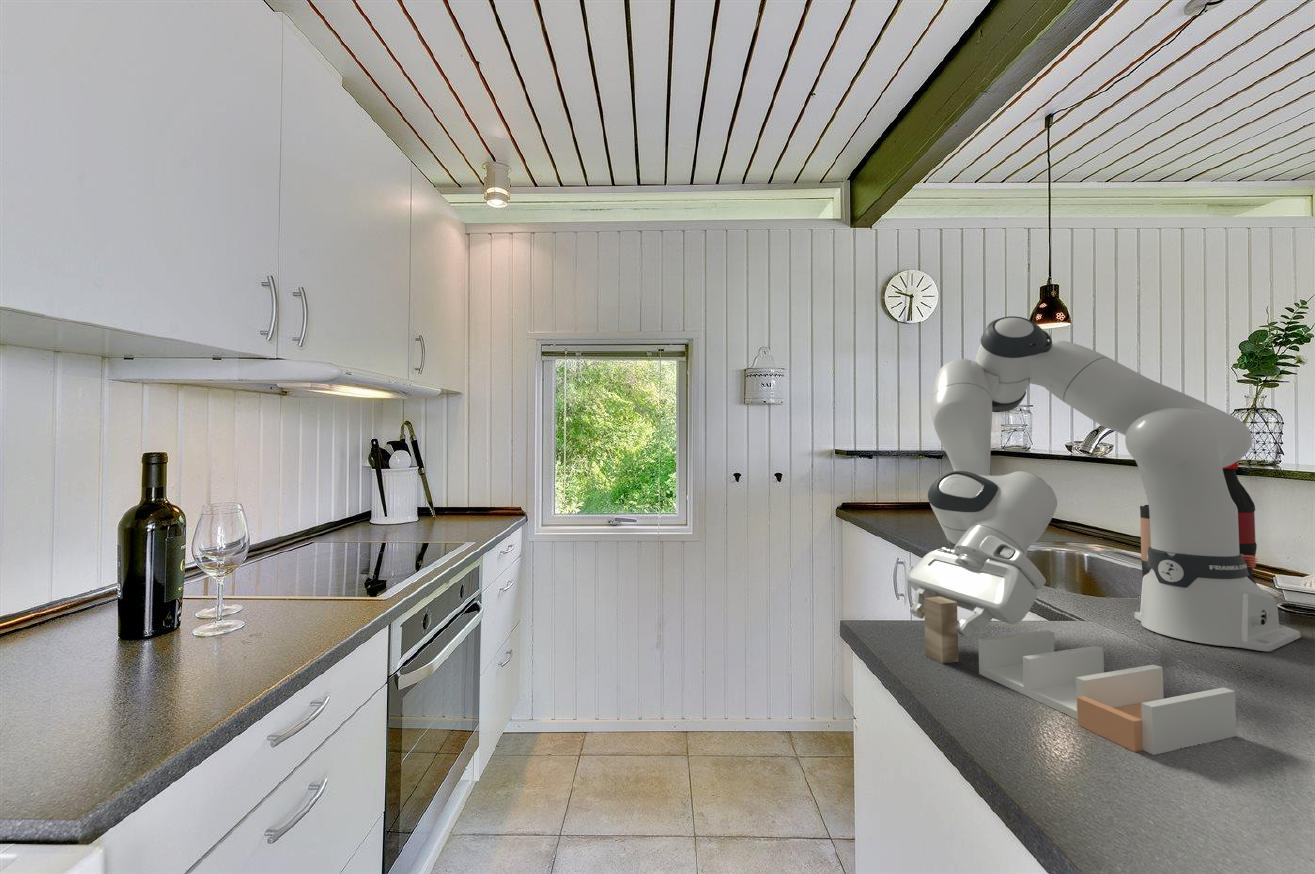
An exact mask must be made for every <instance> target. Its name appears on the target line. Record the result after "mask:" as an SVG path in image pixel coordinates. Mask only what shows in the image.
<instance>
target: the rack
mask: <svg viewBox="0 0 1315 874" xmlns="http://www.w3.org/2000/svg"><path fill="white" fill-rule="evenodd" d="M977 642H978V643H977V644H978V672H979V675H981V676H983V677H985V678H987V679H989V680H991V681H994V682H995V683H998V684H999V685H1002V686H1004V687H1007V688H1009V689H1010V690H1013V691H1015V692H1016V693H1019V694H1022V695H1024V696H1025V697H1028V698H1030V699H1032V700H1034V701H1037V702H1039V703H1041V704H1043V705H1045V706H1047V707H1049V708H1052V709H1053V710H1056V711H1058V712H1059V713H1060V712H1061V713H1062V712H1063V713H1062V714H1064V713H1065V714H1064V715H1066V714H1067V715H1066V716H1069V717H1071V718H1074V719H1076V720H1077V726H1078V727H1079V726H1080V727H1082V728H1084V729H1086V730H1088V731H1090V732H1092V733H1094V734H1096V735H1099V736H1101V737H1102V738H1105V739H1107V740H1109V741H1111V742H1112V743H1115V744H1117V745H1119V746H1121V747H1123V748H1125V749H1128V750H1130V751H1132V752H1134V753H1136V752H1141V751H1144V752H1146V753H1148V754H1150V755H1153V756H1156V755H1160V754H1163V753H1168V752H1172V751H1173V752H1174V751H1176V750H1177V749H1178V750H1181V749H1180V748H1182V749H1185V748H1184V747H1187V748H1189V747H1188V746H1191V747H1193V746H1192V745H1195V746H1197V745H1196V744H1200V743H1204V744H1209V743H1213V742H1216V741H1222V740H1226V739H1230V738H1234V737H1237V736H1238V735H1237V717H1236V715H1237V714H1236V712H1237V711H1236V691H1235V690H1232V689H1230V688H1227V687H1218V688H1214V689H1213V688H1212V689H1209V690H1208V689H1207V690H1203V691H1198V692H1197V691H1196V692H1193V693H1187V694H1182V695H1175V696H1172V697H1167V698H1166V697H1165V695H1164V670H1163V667H1162V666H1159V665H1156V664H1149V665H1148V664H1147V665H1143V666H1136V667H1131V668H1123V669H1117V670H1112V671H1106V672H1105V660H1104V659H1105V658H1104V656H1105V655H1104V648H1103V647H1101V646H1098V645H1092V646H1084V647H1077V648H1071V649H1064V650H1057V651H1055V632H1054V631H1052V630H1048V629H1046V630H1045V629H1043V630H1037V631H1031V632H1021V633H1015V634H1014V633H1013V634H1007V635H999V636H991V637H985V638H984V637H983V638H978V641H977ZM1164 697H1165V698H1164ZM1200 745H1201V744H1200ZM1178 750H1177V751H1178Z"/></svg>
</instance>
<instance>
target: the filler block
mask: <svg viewBox="0 0 1315 874" xmlns="http://www.w3.org/2000/svg"><path fill="white" fill-rule="evenodd" d="M923 619H924V648H925V649H924V651H925V657H928V658H930V659H932V660H934V661H937V662H938V663H940V664H948V663H949V664H950V663H957V662H959V659H960V658H959V633H958V632H957V631H956V630H955V627H956V625H957V624H958V622H959V619H958V606H957V602H955V601H952V600H949V599H946V598H943V597H940V596H939V597H929V598H924V618H923Z"/></svg>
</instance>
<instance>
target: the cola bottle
mask: <svg viewBox="0 0 1315 874" xmlns="http://www.w3.org/2000/svg"><path fill="white" fill-rule="evenodd" d="M1238 468H1239V466H1238V461H1237V462H1235V463H1234V464H1232V465H1230V466H1228V467H1225V468H1222V469H1223V474H1224V477H1225V481H1226V484H1227V487H1228V490H1229V493H1230V496H1231V498H1232V500H1233V502H1234V503H1235V504H1236V506H1237V509H1238V528H1239V554H1243V555H1252V556H1255V557H1256V554H1257V545H1258V544H1257V541H1256V523H1255V522H1256V518H1255V511H1256V505H1255V503H1254V501H1253V499H1252V497H1251V495H1250V494H1249V492H1248V491H1247V490H1246V488H1245V487H1244V486H1243V485H1242V483H1241V482H1240V480H1239V478H1238V475H1237V471H1238V470H1239V469H1238ZM1253 569H1254V568H1253V567H1248V566H1247V570H1248V573H1249V576H1247V577H1248V578H1249V579H1250V580H1251V581H1252V582H1254V583H1255V584H1256V585H1257V583H1256V581H1255V578H1254V576H1253V572H1254V571H1253ZM1257 586H1258V585H1257Z"/></svg>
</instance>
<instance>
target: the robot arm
mask: <svg viewBox="0 0 1315 874" xmlns="http://www.w3.org/2000/svg"><path fill="white" fill-rule="evenodd" d="M1048 340H1049V341H1048ZM1030 384H1032V385H1037V386H1041V387H1042V388H1045V389H1046V390H1047V391H1048V392H1049V393H1050V394H1052V395H1054V397H1056V398H1057V399H1059V400H1060V401H1061V402H1063V403H1065V404H1066V405H1068V406H1069V407H1071V408H1073V409H1074V410H1076V411H1077V412H1079V413H1081V414H1083V415H1084V416H1086V417H1087V418H1088V419H1090V420H1092V421H1093V422H1095V423H1096V424H1098V425H1100V426H1101V427H1103V428H1106V429H1109V430H1112V431H1113V432H1116V433H1119V434H1121V435H1124V436H1125V439H1124V440H1125V441H1124V442H1125V447H1126V450H1127V451H1128V453H1129V455H1130V456H1131V458H1132V459H1133V460H1134V461H1135V462H1136V465H1137V468H1138V471H1139V472H1138V473H1139V474H1140V477H1141V478H1140V479H1141V482H1142V485H1143V488H1144V490H1145V491H1144V492H1145V494H1146V499H1147V502H1148V503H1147V505H1149V516H1150V536H1151V547H1149V548H1148V554H1147V559H1148V566H1149V567H1150V568H1151V570H1150V572H1149V573H1148V574H1146V575H1145V576H1144V577H1143V576H1142V584H1141V585H1142V586H1141V599H1140V611H1134V615H1133V616H1134V619H1136V620H1138V621H1140V624H1141V626H1142V627H1144V628H1146V629H1147V630H1149V631H1152V632H1155V633H1156V634H1159V635H1164V636H1167V637H1170V638H1175V639H1178V640H1183V641H1189V642H1193V643H1194V642H1195V643H1199V644H1204V645H1211V646H1212V645H1213V646H1220V647H1221V646H1222V647H1234V648H1240V649H1241V648H1242V649H1247V650H1253V651H1259V652H1260V651H1262V652H1272V651H1274V650H1276V649H1279V648H1280V647H1283V646H1285V645H1288V644H1290V643H1292V642H1294V641H1295V640H1298V639H1300V638H1302V635H1301V631H1299V630H1297V629H1295V628H1292V627H1288V626H1287V625H1282V624H1280V618H1279V608H1278V604H1277V600H1275V598H1274V597H1272V596H1271V595H1270V594H1268V593H1267V592H1266V591H1264V590H1263V589H1262V588H1261V587H1260V586H1258V585H1256V584H1257V583H1256V584H1255V583H1254V582H1252V581H1251V580H1250V579H1249V578H1248V577H1247V576H1249V573H1248V570H1247V566H1248V567H1253V569H1254V568H1256V566H1257V564H1258V560H1257V559H1258V558H1256V555H1255V556H1252V555H1243V554H1239V528H1238V509H1237V506H1236V504H1235V503H1234V502H1233V500H1232V498H1231V496H1230V493H1229V490H1228V487H1227V484H1226V481H1225V477H1224V474H1223V469H1222V468H1225V467H1228V466H1230V465H1232V464H1234V463H1235V462H1237V463H1238V461H1240V460H1242V458H1244V457H1245V456H1246V455H1247V453H1248V452H1249V451H1250V449H1251V446H1252V444H1253V436H1252V432H1251V430H1250V429H1249V427H1248V426H1247V425H1246V424H1245V423H1244V422H1243V421H1242V420H1240V419H1238V418H1237V417H1236V416H1233V415H1232V414H1230V413H1227V412H1225V411H1223V410H1221V409H1219V408H1217V407H1214V406H1213V405H1211V404H1209V403H1206V402H1203V401H1202V400H1200V399H1197V398H1195V397H1193V396H1190V395H1189V394H1186V393H1183V392H1181V391H1179V390H1177V389H1174V388H1172V387H1169V386H1167V385H1164V384H1162V383H1160V382H1157V381H1155V380H1152V379H1150V378H1149V377H1147V376H1145V375H1143V374H1141V373H1138V372H1137V371H1135V370H1133V369H1130V368H1129V367H1127V366H1125V365H1123V364H1121V363H1120V362H1118V361H1116V360H1115V359H1112V358H1110V357H1108V356H1106V355H1104V354H1102V353H1100V352H1098V351H1096V350H1094V349H1091V348H1088V347H1085V346H1083V345H1080V344H1077V343H1074V342H1070V341H1066V340H1056V341H1052V337H1051V336H1050V334H1049V333H1048V332H1047V331H1046V330H1044V329H1043V328H1042V327H1041V326H1039V325H1038V324H1037V323H1035V322H1033V321H1032V320H1030V319H1028V318H1025V317H1022V316H1009V315H1008V316H1004V317H1000V318H997V319H994V320H992V321H991V322H990V323H989V324H988V325H987V326H986V328H985V330H984V331H983V333H982V335H981V337H980V344H979V347H978V349H977V352H976V356H975V359H974V360H973V359H966V358H960V359H959V358H958V359H953V360H950V361H948V362H947V363H945V364H943V366H941V368H939V371H938V372H937V375H936V377H935V380H934V383H933V386H932V390H931V391H932V392H931V401H930V415H931V419H932V424H933V428H934V430H935V434H936V435H937V437H938V439H939V441H940V443H941V445H942V447H943V449H944V452H945V453H946V455H947V457H948V460H949V461H950V465H951V467H952V469H953V471H950V472H946V473H945V474H943V475H941V476H939V477H938V478H936V479H935V480H934V481H933V482H932V484H931V485H930V487H929V489H928V493H927V499H928V502H929V504H930V507H931V509H932V512H933V513H934V516H936V519H937V521H938V523H939V525H940V526H941V529H942V531H943V533H944V535H945V538H946V541H947V543H948V546H949V548H948V547H945V546H944V547H943V546H942V547H940V548H939V549H935V550H931V551H930V552H928V553H926V554H925V555H924V556H923V557H922V558H921V559H920V560H919V561H918V562H917V563H915V565H914V566H913V567H912V568H911V569H910V570H909V572H908V573H907V574H906V582H907V583H908V585H909V586H910V587H911V588H912V589H913V590H914V591H915V597H914V603H913V605H911V607H910V609H909V612H910V613H911V614H912V615H913V617H914V618H915V617H916V618H918V619H920V620H922V619H925V618H924V598H929V597H939V596H940V597H943V598H946V599H949V600H952V601H955V602H957V608H958V607H959V608H961V609H965V610H967V611H971V612H973V614H972V615H971V616H969V617H968V618H966V619H962V618H960V620H958V624H957V625H956V627H955V630H956V631H957V632H958V635H961V636H963V637H966V638H969V639H970V638H971V637H972V636H973V634H974V632H975V631H976V630H979V629H981V628H982V627H985V626H987V625H989V624H990V622H991V621H992V620H993V619H994V620H996V621H997V620H998V621H1000V622H1002V623H1005V624H1009V625H1014V624H1017V623H1020V622H1022V621H1023V620H1024V618H1025V617H1026V616H1027V615H1028V613H1029V611H1030V610H1031V609H1032V608H1033V605H1034V603H1035V601H1036V599H1037V596H1038V590H1040V589H1042V588H1043V587H1044V586H1045V584H1046V582H1047V579H1046V578H1045V576H1044V575H1043V574H1042V573H1041V571H1040V570H1039V569H1038V567H1037V566H1036V565H1035V563H1033V562H1032V560H1030V558H1028V557H1027V555H1028V550H1029V548H1030V547H1031V546H1032V545H1033V544H1034V543H1036V542H1037V541H1038V540H1039V539H1040V538H1041V536H1042V535H1043V533H1044V532H1045V531H1046V529H1047V528H1048V526H1049V524H1050V523H1051V521H1052V519H1053V516H1054V515H1055V513H1056V510H1057V507H1058V498H1057V496H1056V494H1055V491H1054V490H1053V489H1052V487H1051V486H1050V485H1049V484H1048V483H1047V482H1046V481H1045V480H1043V479H1042V478H1041V477H1039V476H1037V475H1036V474H1033V473H1030V472H1028V471H1022V470H1017V471H1013V472H1010V473H1007V474H1002V475H992V470H991V469H992V468H991V455H992V454H991V451H992V447H991V446H992V445H991V444H992V429H993V428H992V425H993V413H1005V412H1010V411H1013V410H1014V409H1016V408H1017V407H1019V406H1020V404H1021V403H1022V402H1023V400H1024V398H1025V396H1026V394H1027V389H1028V388H1029V385H1030Z"/></svg>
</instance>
